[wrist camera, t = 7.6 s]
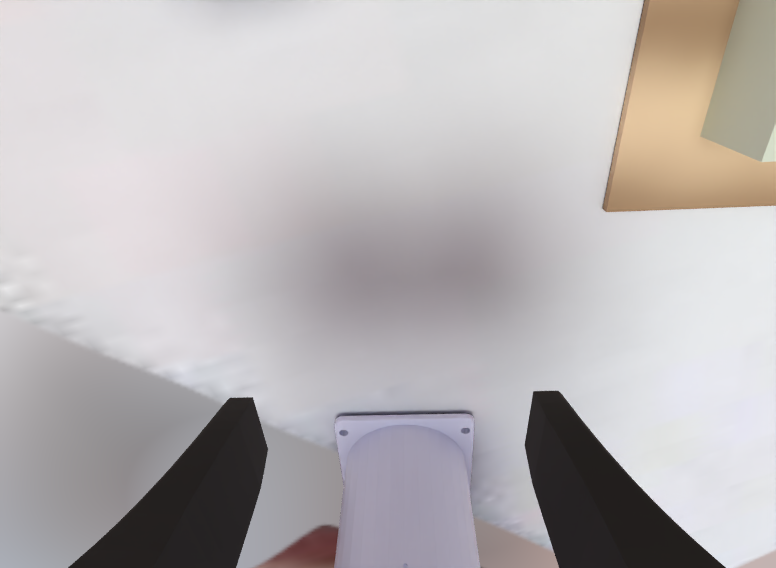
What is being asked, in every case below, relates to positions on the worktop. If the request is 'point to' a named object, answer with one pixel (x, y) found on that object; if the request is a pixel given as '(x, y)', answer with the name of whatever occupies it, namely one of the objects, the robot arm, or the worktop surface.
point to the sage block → (747, 85)
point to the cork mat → (680, 118)
